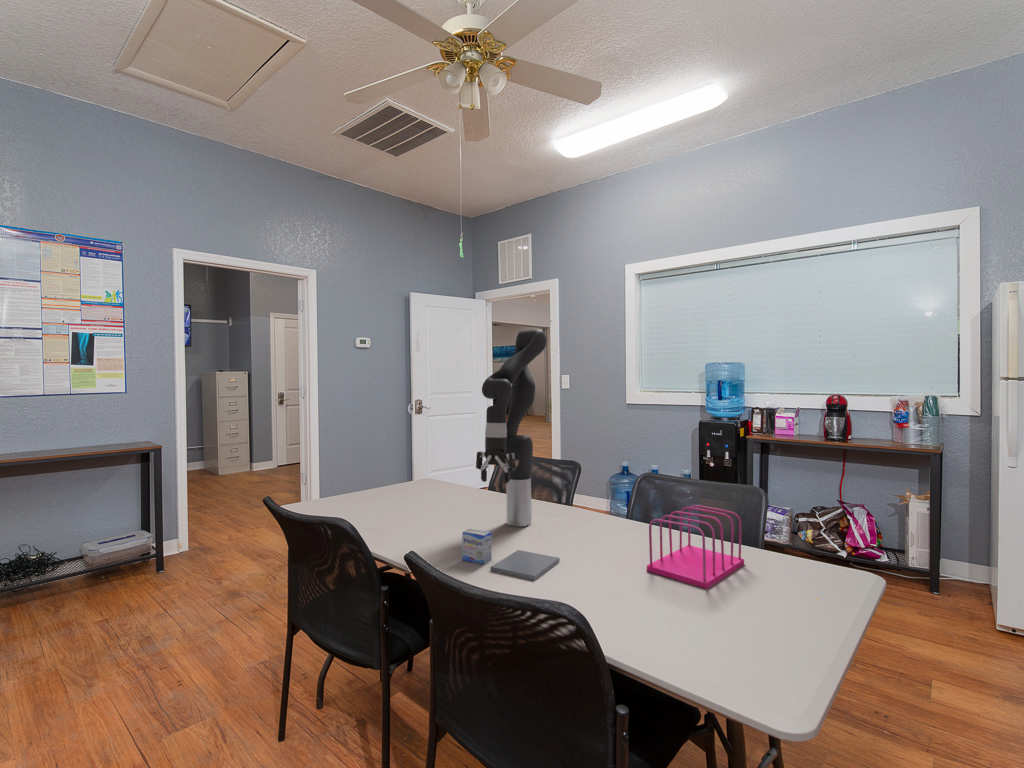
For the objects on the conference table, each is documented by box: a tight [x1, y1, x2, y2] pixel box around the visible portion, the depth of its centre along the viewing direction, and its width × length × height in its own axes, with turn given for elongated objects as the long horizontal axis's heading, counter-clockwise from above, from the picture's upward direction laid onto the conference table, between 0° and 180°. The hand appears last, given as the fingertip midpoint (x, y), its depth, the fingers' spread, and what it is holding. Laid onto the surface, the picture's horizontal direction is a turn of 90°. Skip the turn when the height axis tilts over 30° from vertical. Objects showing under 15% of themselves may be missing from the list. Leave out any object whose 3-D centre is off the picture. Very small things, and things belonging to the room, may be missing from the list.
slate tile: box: [490, 549, 560, 582], centre depth 145 cm, size 16×14×1 cm
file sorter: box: [646, 504, 745, 590], centre depth 144 cm, size 17×25×16 cm
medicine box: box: [461, 528, 493, 565], centre depth 150 cm, size 8×4×9 cm, turn 62°
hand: (495, 482), depth 175 cm, fingers open, 8 cm apart
